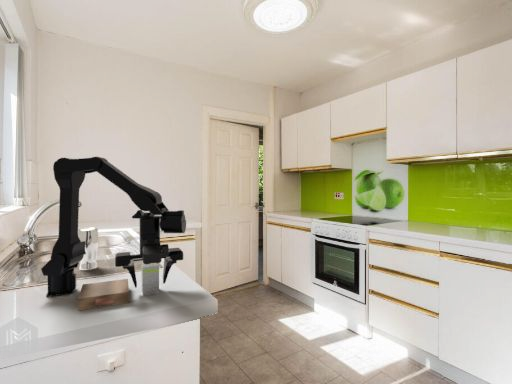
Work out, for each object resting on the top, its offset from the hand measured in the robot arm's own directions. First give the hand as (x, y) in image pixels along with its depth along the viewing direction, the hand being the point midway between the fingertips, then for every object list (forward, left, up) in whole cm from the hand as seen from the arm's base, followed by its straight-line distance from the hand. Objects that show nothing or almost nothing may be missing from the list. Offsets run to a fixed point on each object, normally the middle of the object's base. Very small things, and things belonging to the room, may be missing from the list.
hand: (150, 285), depth 87 cm
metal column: (0, 0, -2) cm, 2 cm away
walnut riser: (-12, 0, -2) cm, 12 cm away
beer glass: (-19, +36, -2) cm, 41 cm away
